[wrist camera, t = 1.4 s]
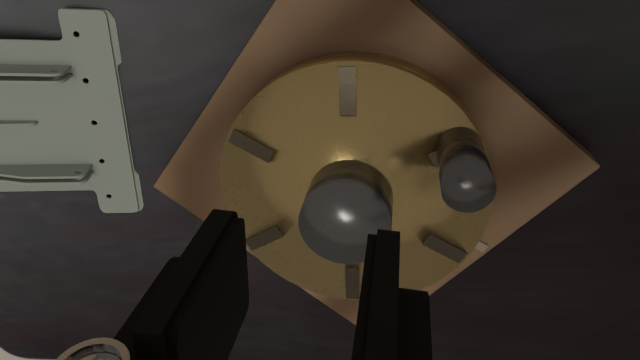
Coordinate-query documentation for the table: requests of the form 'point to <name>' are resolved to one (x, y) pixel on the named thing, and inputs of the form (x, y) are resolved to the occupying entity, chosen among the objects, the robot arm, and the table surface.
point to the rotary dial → (357, 172)
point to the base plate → (415, 48)
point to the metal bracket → (67, 113)
